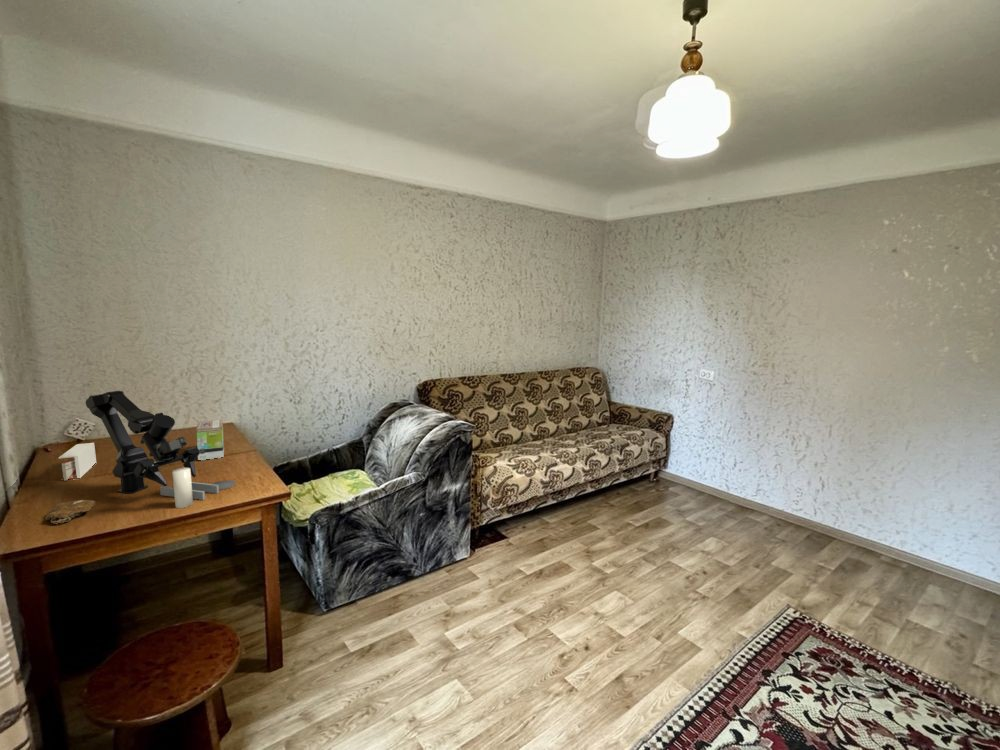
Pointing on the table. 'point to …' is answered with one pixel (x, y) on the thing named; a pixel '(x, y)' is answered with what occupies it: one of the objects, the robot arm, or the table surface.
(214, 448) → the tea box
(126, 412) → the robot arm
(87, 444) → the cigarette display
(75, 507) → the decorative rock
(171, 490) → the grey parallel rails
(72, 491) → the table surface
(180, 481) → the white rounded block
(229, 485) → the coaster
